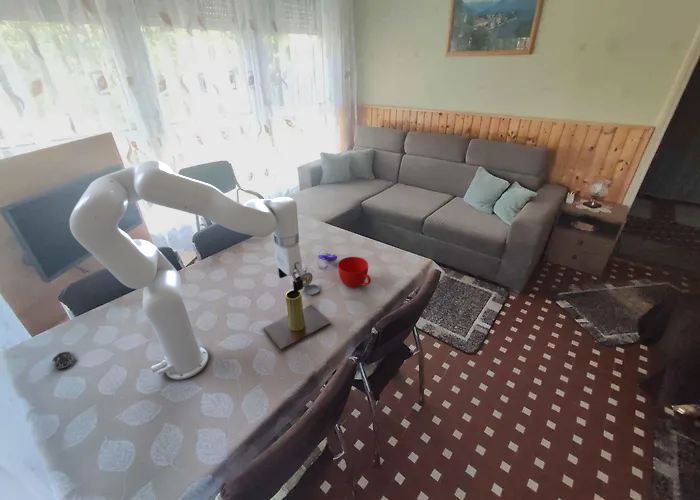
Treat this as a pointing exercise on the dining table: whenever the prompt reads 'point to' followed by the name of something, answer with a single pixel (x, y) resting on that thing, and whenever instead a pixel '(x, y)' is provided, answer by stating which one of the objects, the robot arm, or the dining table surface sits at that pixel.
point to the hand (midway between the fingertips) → (290, 283)
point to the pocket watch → (309, 288)
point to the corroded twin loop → (62, 360)
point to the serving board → (289, 337)
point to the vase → (295, 310)
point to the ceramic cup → (353, 271)
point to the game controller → (328, 257)
